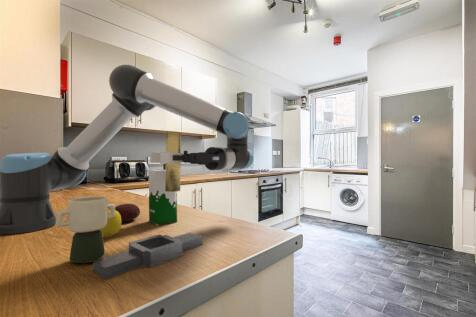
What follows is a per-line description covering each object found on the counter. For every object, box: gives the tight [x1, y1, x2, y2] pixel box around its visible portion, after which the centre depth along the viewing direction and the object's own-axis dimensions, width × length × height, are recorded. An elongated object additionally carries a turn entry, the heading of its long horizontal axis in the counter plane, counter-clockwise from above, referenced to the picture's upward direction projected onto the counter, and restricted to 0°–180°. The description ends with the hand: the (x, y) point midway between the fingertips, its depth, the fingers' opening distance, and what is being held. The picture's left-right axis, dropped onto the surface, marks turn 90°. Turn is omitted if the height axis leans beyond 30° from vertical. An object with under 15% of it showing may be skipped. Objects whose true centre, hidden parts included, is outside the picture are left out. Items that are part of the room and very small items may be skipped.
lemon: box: [99, 208, 123, 238], centre depth 65 cm, size 6×6×8 cm
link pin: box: [165, 131, 182, 192], centre depth 65 cm, size 4×4×16 cm
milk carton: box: [148, 163, 178, 226], centre depth 82 cm, size 9×9×20 cm
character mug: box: [55, 195, 116, 264], centre depth 50 cm, size 11×7×13 cm, turn 140°
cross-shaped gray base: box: [92, 232, 203, 280], centre depth 52 cm, size 9×23×3 cm, turn 140°
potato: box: [115, 203, 141, 223], centre depth 82 cm, size 7×10×6 cm
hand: (155, 157), depth 61 cm, fingers closed on link pin, 4 cm apart
